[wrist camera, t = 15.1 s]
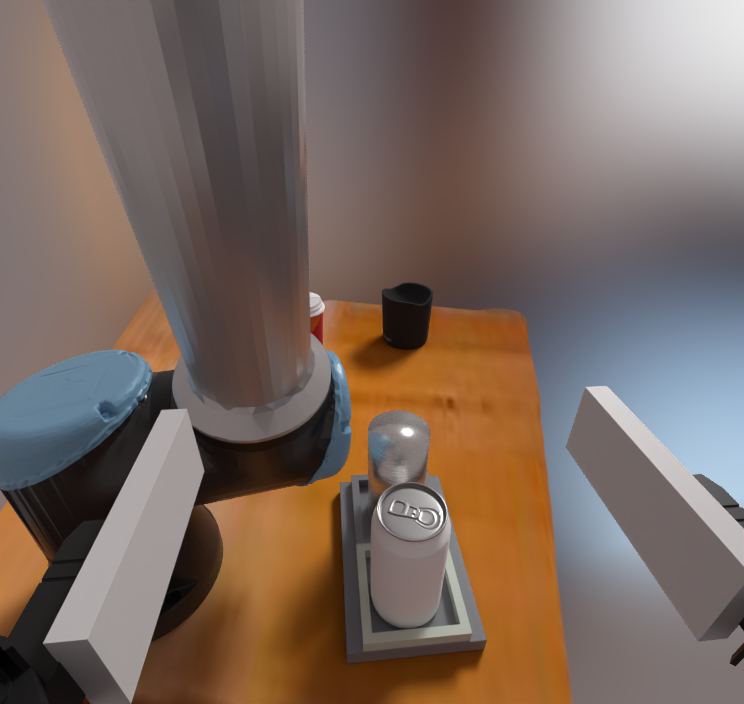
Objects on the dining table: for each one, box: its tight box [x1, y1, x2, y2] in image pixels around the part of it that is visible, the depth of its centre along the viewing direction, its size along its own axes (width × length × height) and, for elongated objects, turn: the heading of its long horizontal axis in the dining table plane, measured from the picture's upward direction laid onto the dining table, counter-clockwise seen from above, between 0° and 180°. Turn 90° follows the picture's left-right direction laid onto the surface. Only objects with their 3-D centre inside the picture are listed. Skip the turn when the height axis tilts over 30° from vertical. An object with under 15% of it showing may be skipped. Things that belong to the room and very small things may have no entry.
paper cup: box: [310, 293, 325, 346], centre depth 70 cm, size 8×8×14 cm
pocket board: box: [340, 470, 487, 664], centre depth 44 cm, size 12×18×3 cm, turn 6°
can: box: [371, 482, 451, 629], centre depth 37 cm, size 6×6×12 cm
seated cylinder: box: [368, 411, 430, 521], centre depth 45 cm, size 6×6×12 cm
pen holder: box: [382, 283, 433, 349], centre depth 82 cm, size 9×9×10 cm
